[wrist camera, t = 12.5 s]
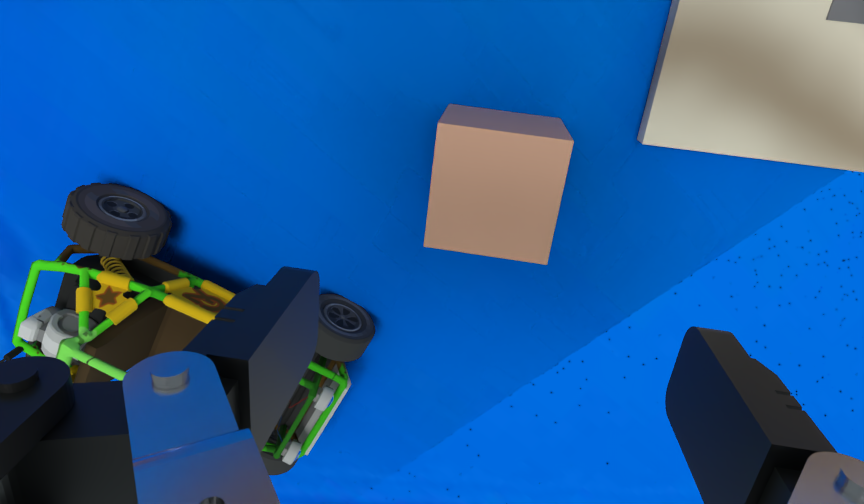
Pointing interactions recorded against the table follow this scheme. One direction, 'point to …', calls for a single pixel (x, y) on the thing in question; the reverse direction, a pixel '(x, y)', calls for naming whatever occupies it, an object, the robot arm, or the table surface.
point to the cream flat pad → (761, 81)
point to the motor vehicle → (165, 312)
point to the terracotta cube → (497, 183)
